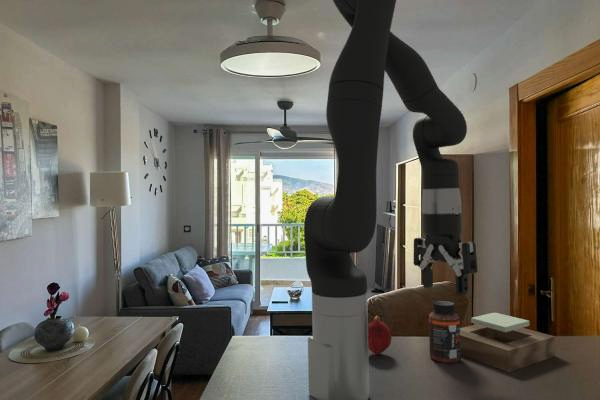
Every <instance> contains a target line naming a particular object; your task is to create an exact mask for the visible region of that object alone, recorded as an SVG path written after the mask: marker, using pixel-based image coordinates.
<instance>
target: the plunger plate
mask: <svg viewBox="0 0 600 400" xmlns="http://www.w3.org/2000/svg"><path fill="white" fill-rule="evenodd" d="M470 323H471V324H473V325H476V324H478V325H481V326H485V327H488V328H492V329H495V330H499V331H502V332H508V331H512V330H516V329H519V328H526V327H529V326H530V320H528V319H524V318H519V317H514V316H511V315H507V314H502V313H499V312H490V313H486V314H482V315H478V316H473V317H471V318H470Z"/></svg>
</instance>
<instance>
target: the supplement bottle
mask: <svg viewBox="0 0 600 400" xmlns="http://www.w3.org/2000/svg"><path fill="white" fill-rule="evenodd" d="M460 328H461V318H460V316H459V315H458V314H457V313H456V311H455V303H454V302H452V301H447V300H436V301H434V302H433V311H432V312H430V313H429V316H428V337H429V338H428V339H429V340H428V341H429V347H428V348H429V357H430V359H432V360H434V361H436V362H438V363H443V364H455V363H457V362H460V360H461V356H462V355H461V353H460Z"/></svg>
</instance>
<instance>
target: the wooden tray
mask: <svg viewBox="0 0 600 400" xmlns="http://www.w3.org/2000/svg"><path fill="white" fill-rule="evenodd" d="M460 353H461V355H460V356H463V357H467V358H470V359H472V360H475V361H477V362H481V363H482V364H483V363H484V364H486V365H488V366H492V367H494V368H497V369H499V370H502V371H505V372H507V373H511V372H514V371H517V370H520V369H523V368H525V367H528V366H531V365H535V364H536V363H537V364H538V363H539V362H543V361H545V360H548V359H552V358H554V357H556V336H554V335H551V334H547V333H543V332H540V331H535V330H532V329H528V328H526V327H523V328H519V329H516V330H512V331H508V332H502V331H499V330H495V329H492V328H488V327H485V326H481V325H478V324H473V325H468V326H465V327H464V326H463V327H460Z"/></svg>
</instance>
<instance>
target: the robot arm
mask: <svg viewBox="0 0 600 400" xmlns="http://www.w3.org/2000/svg"><path fill="white" fill-rule="evenodd" d="M332 1H333V3H334V6H335V7H336V9H337V10H338V12H339V13H340V15H342V17H343V18H344V20H345V22H347V23H348V26H350V27H351V29H350V33H349V34H348V37H347V40H346V42H345V44H344V45H343V47H342V50H340V53H339V56H338V58H337V60H336V62H335V64H334V67H333V70H332V71H331V74H330V79H329V82H328V83H329V84H328V91H327V102H326V108H325V109H326V113H325V114H326V115H325V117H326V124H327V126H328V130H329V135H330V137H331V140H332V142H333V145H334V148H335V151H336V156H337V162H338V163H337V164H338V165H337V166H338V167H337V168H338V170H337V172H338V173H337V181H336V182H337V183H336V188H335V193H334V194H335V195H325V196H320V197H318V198H316V199H314V200H313V201H312V202H311V203H310V204H309V206H308V208H307V210H306V213H305V217H304V222H303V224H304V225H303V235H304V237H303V238H304V251H305V263H306V264H305V265H306V272H307V275H308V278H309V280H310V283H311V319H312V320H311V322H312V323H311V324H312V327H311V328H312V336H309V337H308V338H307V358H308V359H307V360H308V362H307V363H308V364H307V365H308V366H307V367H308V370H307V371H308V395H310V397H312V398H314V399H315V400H368V399H369V398H370V368H369V367H370V365H369V364H370V363H369V362H370V361H369V359H370V357H369V349H368V324H369V321H368V320H369V319H368V317H369V316H368V314H369V313H368V311H369V310H368V309H369V308H368V307H369V305H368V280H367V276H366V274H365V273H364V272H363V271H362V270H360V268H359V267H358V266H357V265H356V263H354V260H353V258H352V254H355V253H356V254H357V253H360V252H362V251H364V250H365V249H366V248H367V247H368V246H369V245H370V243H371V242H372V240H373V238H374V235H375V231H376V224H377V165H378V163H377V162H378V150H379V149H378V148H379V134H380V124H381V123H380V122H381V117H382V111H383V110H382V108H383V100H384V87H385V73H386V75H387V76H388V78H389V80H390V81H391V83H392V85H393V86H394V89H395V90H396V92H397V94H398V95H399V98H400V100H401V101H402V103H403V105H404V106H405V108H406V109H407V110H408V111H409V112H412V113H416V114H417V113H419V114H424V115H422V116H420V117H418V119H417V120H416V121H415V122H414V125H413V128H412V140H413V145H414V147H415V151H416V154H417V157H418V160H419V163H420V167H421V171H422V189H423V190H422V197H421V198H422V199H421V205H422V212H421V213H422V214H421V215H422V233H423V234H424V235H425V236H423V237H415V238H414V239H413V265H414V266H417V267H419V269H420V270H421V283H422V286H423V288H426V289H429V288H433V287H434V277H433V276H434V275H433V274H434V272H433V270H434V269H432V268H433V266H434V264H435V263H436V262H439V261H440V262H442V263H447V264H448V266H449V267H451V268H452V269H453V271H454V273H455V274H456V275H455V293H456V296H465V295H467V293H468V292H469V275H473V274H476V273H478V261H477V260H478V259H477V250H476V249H477V247H476V243H475V242H474V241H466V242H462V240H461V235H462V233H463V220H462V219H463V218H462V215H463V213H462V196H461V191H460V170H459V169H460V168H459V164H458V161H456V160H455V159H452V158H444V157H443V156H442V154H441V151H440V148H446V147H454V146H456V145H459V144H461V143H462V142H463V141H464V140H465V138H466V137H467V132H468V126H467V120H466V118H465V116H464V114H463V113H462V111H461V110H460V109H459V108H458V106H456V104H455V103H454V102H453V101H452V100H451V99H450V98H449V97H448V96H447V95H446V93H444V92H443V91H442V90H441V89H440V88H439V86H438V83H437V82H436V79H435V78H434V76H433V74H432V73H431V71H430V69H429V67H428V64H427V63H426V61H425V60H424V59H423V57H422V56H421V55H420V53H419V52H418V51H416V50H415V49H414V48H413V47H411V46H410V45H408V44H407V43H406V42H405V41H403V40H402V39H400V38H399V37H398V36H397V35H395V34H394V33H393V32H392V31H391V28H392V23H393V17H394V12H395V8H396V3H397V0H332Z"/></svg>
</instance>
